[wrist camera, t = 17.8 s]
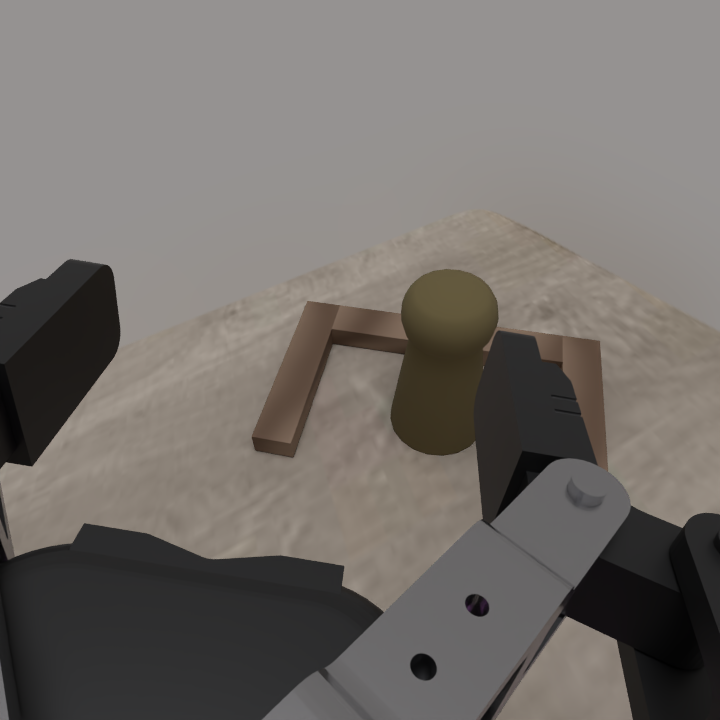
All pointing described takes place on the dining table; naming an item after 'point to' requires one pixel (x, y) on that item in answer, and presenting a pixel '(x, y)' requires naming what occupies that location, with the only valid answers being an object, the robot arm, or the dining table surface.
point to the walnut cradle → (386, 333)
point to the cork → (442, 360)
